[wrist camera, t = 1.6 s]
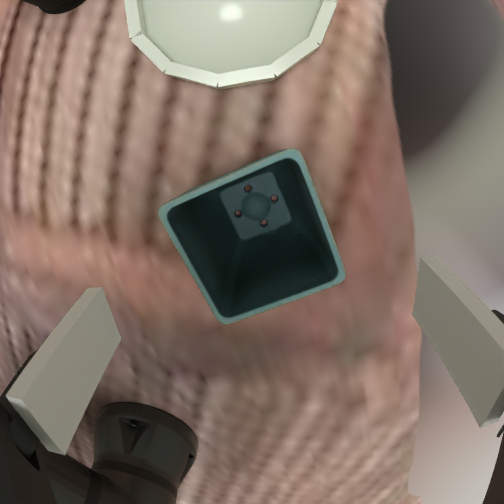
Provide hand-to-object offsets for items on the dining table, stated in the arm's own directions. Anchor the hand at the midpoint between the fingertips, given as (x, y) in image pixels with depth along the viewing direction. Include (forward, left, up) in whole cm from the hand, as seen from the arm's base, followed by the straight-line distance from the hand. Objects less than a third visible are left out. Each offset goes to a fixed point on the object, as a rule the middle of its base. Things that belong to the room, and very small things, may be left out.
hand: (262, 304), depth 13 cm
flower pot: (0, 0, -16) cm, 16 cm away
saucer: (+10, +15, -16) cm, 24 cm away
